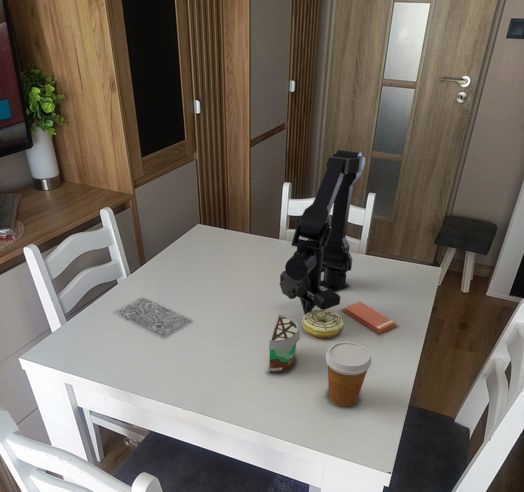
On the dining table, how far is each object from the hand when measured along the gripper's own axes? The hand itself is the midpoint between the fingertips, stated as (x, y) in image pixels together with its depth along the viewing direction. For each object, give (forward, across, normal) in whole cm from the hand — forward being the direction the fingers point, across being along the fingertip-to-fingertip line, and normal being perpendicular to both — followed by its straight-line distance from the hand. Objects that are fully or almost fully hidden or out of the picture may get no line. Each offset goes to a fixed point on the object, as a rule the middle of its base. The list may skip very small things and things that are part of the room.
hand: (306, 314), depth 133 cm
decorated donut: (+1, +7, 0) cm, 7 cm away
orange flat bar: (+1, +10, +14) cm, 17 cm away
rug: (+1, -24, -35) cm, 43 cm away
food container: (+1, +13, -17) cm, 21 cm away
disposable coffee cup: (+1, +30, -14) cm, 33 cm away
